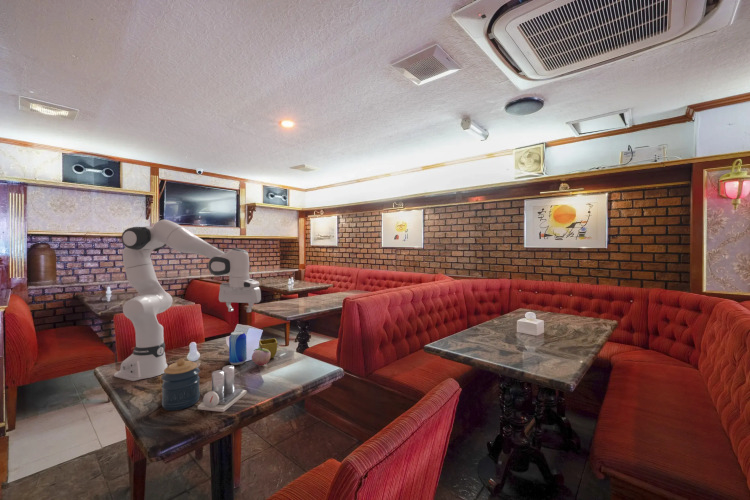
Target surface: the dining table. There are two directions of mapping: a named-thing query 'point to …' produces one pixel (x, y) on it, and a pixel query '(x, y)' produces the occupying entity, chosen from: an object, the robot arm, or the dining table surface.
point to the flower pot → (269, 346)
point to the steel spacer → (228, 379)
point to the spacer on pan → (218, 383)
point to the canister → (180, 385)
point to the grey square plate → (229, 396)
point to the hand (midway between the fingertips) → (239, 311)
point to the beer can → (237, 348)
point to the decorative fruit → (261, 356)
